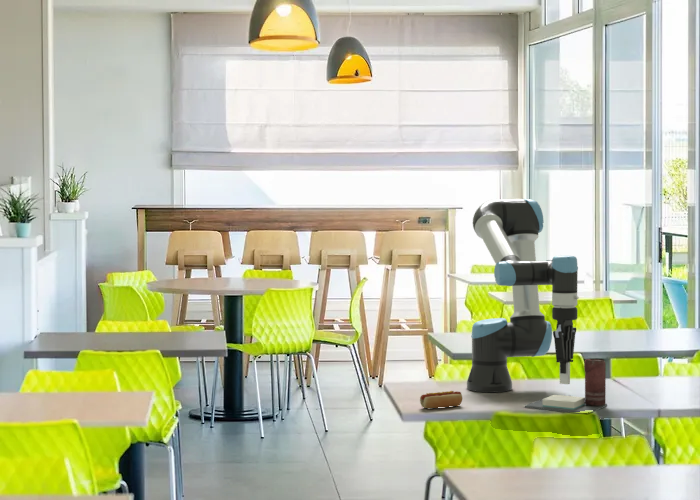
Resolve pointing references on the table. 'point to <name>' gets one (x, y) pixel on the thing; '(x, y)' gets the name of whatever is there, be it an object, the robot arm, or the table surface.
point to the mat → (539, 405)
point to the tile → (563, 402)
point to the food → (441, 399)
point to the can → (595, 382)
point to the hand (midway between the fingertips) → (564, 383)
